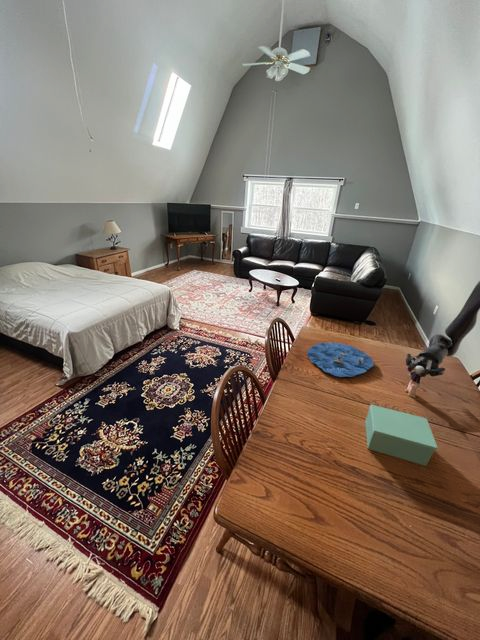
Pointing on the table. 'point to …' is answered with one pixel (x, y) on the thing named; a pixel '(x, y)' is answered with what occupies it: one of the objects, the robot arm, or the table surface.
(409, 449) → the block
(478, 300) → the robot arm
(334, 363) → the blue sea diorama
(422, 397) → the table surface
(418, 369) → the grandmother figurine
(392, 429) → the lunchbox lid
